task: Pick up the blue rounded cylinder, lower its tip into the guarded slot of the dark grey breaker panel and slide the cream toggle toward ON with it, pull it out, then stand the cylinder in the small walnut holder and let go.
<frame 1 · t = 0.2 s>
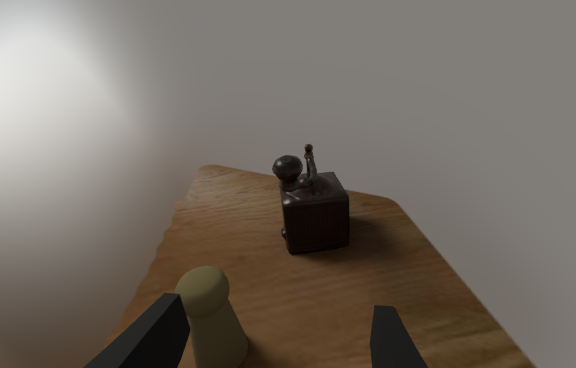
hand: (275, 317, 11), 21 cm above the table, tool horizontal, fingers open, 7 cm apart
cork: (222, 351, 33), on the table
manual coffee grinder: (315, 242, 49), on the table
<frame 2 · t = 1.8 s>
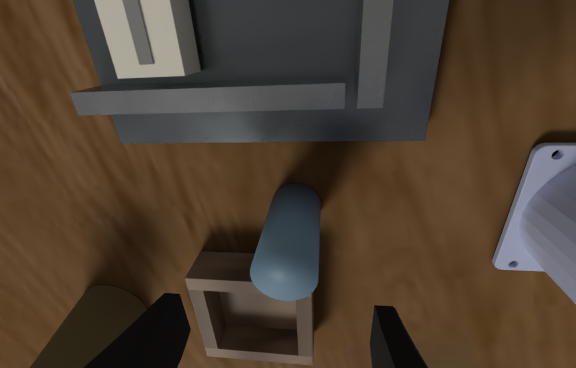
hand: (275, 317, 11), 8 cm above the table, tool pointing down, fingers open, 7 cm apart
breaker panel: (256, 27, 13), on the table
stylus holder: (260, 294, 22), on the table
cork: (118, 308, 25), on the table
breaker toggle: (150, 31, 12), point 2 cm above the table, slide at 0.0 cm
blue rounded cylinder: (296, 204, 18), on the table
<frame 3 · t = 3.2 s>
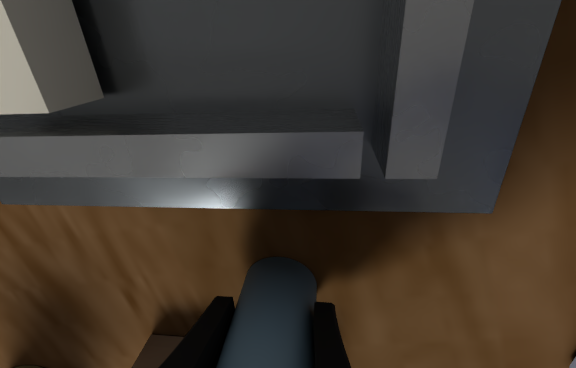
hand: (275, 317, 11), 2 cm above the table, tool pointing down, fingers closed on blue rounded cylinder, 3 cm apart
breaker panel: (204, 20, 8), on the table
blue rounded cylinder: (280, 284, 12), on the table, touching gripper
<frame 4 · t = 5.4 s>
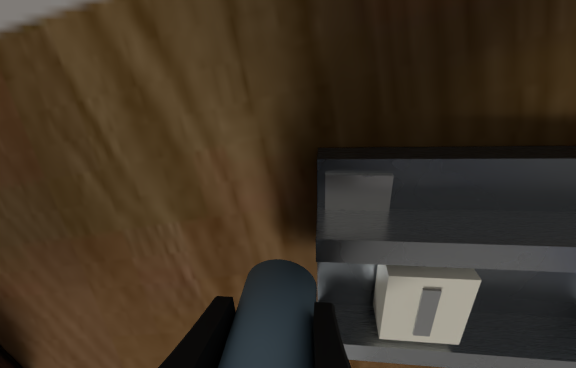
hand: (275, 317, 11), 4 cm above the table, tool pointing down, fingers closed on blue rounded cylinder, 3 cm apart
breaker panel: (497, 257, 13), on the table
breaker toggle: (419, 294, 11), point 2 cm above the table, slide at 0.0 cm
blue rounded cylinder: (281, 286, 12), point 2 cm above the table, touching gripper
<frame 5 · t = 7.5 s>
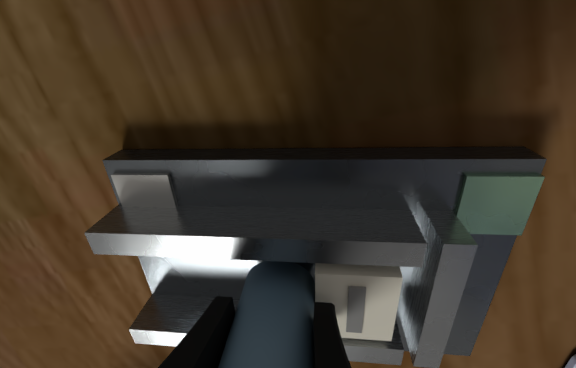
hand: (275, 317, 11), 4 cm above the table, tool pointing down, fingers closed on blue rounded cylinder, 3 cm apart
breaker panel: (307, 250, 14), on the table
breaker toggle: (353, 292, 11), point 2 cm above the table, slide at 6.0 cm, touching blue rounded cylinder
blue rounded cylinder: (280, 286, 12), point 2 cm above the table, touching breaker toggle, gripper
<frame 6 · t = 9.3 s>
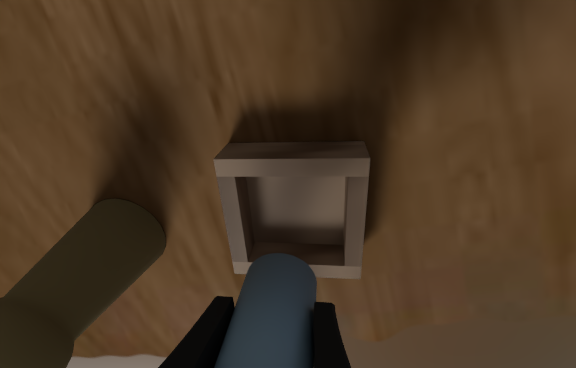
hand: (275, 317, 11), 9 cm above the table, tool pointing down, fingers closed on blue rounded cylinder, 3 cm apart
stylus holder: (296, 200, 19), on the table
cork: (128, 231, 22), on the table
blue rounded cylinder: (281, 281, 12), point 7 cm above the table, touching gripper
when the fingers open (3 cm above the table, at t = 10.7 s): blue rounded cylinder stays where it is, resting on stylus holder.
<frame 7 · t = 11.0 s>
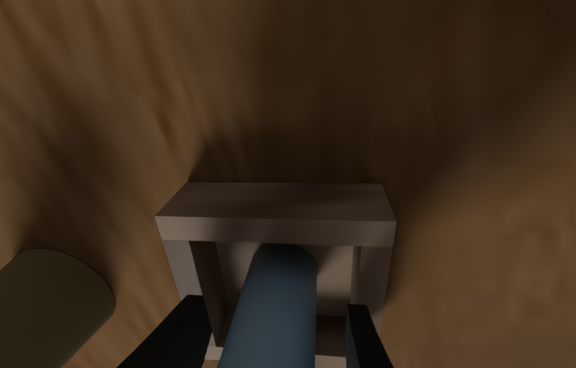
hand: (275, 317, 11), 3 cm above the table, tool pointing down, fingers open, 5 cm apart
stylus holder: (285, 258, 13), on the table
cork: (67, 286, 17), on the table
blue rounded cylinder: (283, 268, 13), point 1 cm above the table, touching stylus holder
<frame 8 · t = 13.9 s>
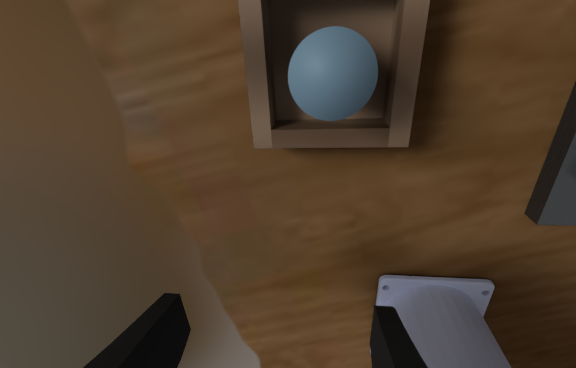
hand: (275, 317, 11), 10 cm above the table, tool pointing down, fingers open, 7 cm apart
stylus holder: (329, 61, 15), on the table
blue rounded cylinder: (329, 62, 15), point 1 cm above the table, touching stylus holder
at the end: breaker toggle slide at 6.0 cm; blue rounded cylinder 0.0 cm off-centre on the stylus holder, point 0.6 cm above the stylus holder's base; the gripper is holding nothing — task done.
